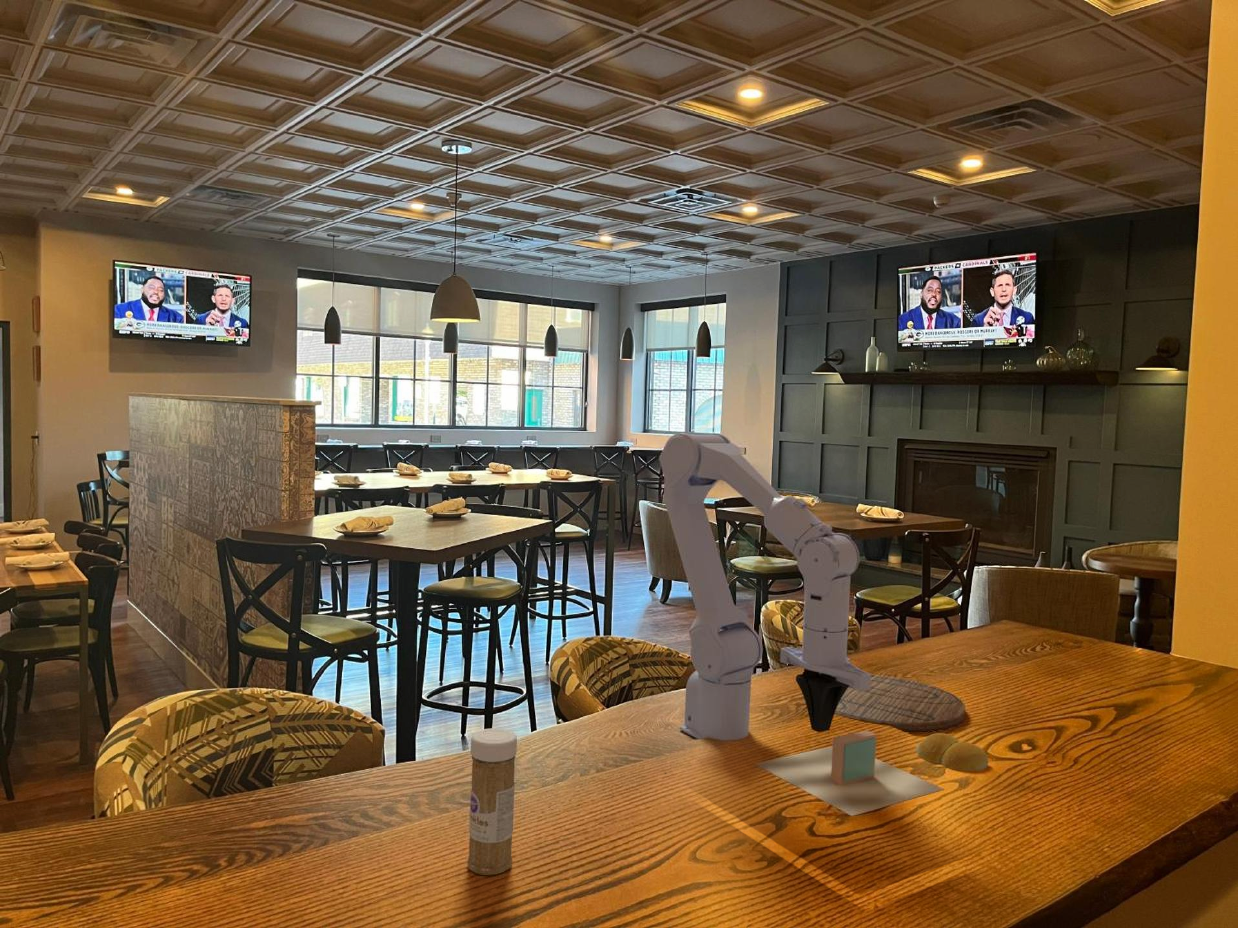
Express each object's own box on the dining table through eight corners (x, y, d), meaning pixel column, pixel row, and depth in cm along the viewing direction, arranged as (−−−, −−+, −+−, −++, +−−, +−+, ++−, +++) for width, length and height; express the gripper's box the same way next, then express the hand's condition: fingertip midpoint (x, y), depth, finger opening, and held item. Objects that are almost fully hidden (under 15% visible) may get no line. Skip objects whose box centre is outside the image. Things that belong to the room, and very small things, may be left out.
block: (830, 780, 112) (833, 737, 112) (864, 772, 115) (866, 730, 115) (841, 786, 111) (843, 742, 110) (875, 777, 114) (877, 734, 113)
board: (754, 771, 117) (754, 763, 117) (842, 750, 125) (842, 743, 125) (851, 824, 102) (852, 815, 102) (943, 796, 111) (944, 789, 111)
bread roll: (969, 785, 116) (971, 754, 115) (907, 762, 122) (908, 734, 122) (1000, 770, 121) (1002, 740, 121) (939, 749, 128) (940, 721, 128)
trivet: (945, 747, 129) (946, 734, 129) (781, 712, 142) (782, 700, 142) (978, 703, 150) (978, 692, 150) (832, 675, 163) (833, 665, 163)
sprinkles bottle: (457, 865, 90) (461, 734, 89) (492, 849, 93) (495, 723, 93) (488, 882, 87) (492, 746, 86) (522, 865, 90) (526, 734, 90)
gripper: (890, 636, 113) (884, 742, 114) (808, 613, 125) (804, 708, 126) (850, 642, 109) (844, 751, 110) (770, 617, 122) (766, 716, 122)
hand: (820, 729), depth 118 cm, fingers closed
